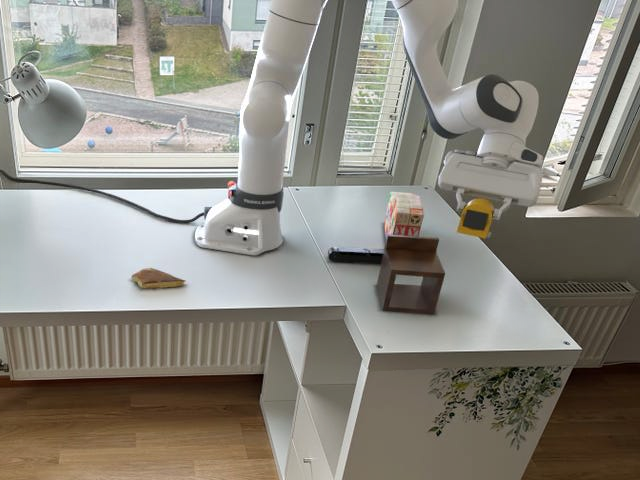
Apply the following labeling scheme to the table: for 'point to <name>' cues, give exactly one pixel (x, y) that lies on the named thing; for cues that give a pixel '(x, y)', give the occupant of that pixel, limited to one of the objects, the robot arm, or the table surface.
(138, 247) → the table surface
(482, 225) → the tape measure
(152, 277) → the shard
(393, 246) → the shelf
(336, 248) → the tablet stand
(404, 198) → the stack of blocks
